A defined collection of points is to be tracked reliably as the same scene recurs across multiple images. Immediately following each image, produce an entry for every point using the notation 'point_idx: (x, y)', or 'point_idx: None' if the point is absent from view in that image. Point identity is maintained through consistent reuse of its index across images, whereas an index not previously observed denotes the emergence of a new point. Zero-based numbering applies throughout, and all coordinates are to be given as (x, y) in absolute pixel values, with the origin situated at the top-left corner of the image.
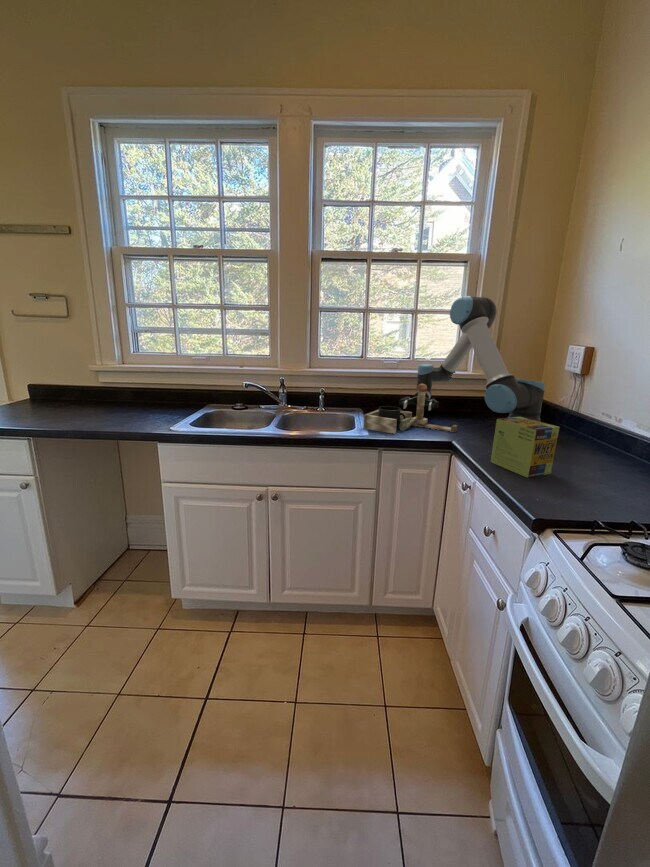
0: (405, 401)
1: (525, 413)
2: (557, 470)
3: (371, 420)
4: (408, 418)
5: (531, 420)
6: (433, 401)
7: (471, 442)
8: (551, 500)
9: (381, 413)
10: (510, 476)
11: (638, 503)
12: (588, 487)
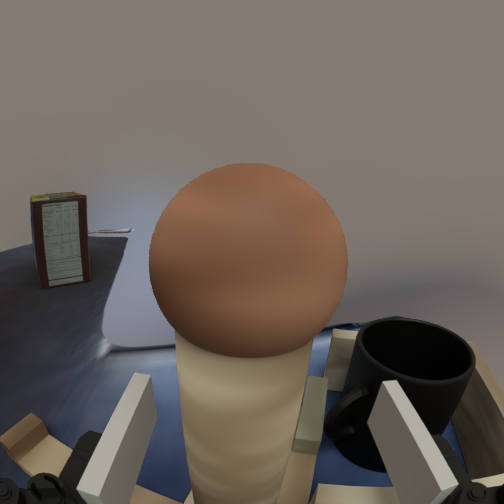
0: (415, 422)
1: None
2: (16, 271)
3: None
4: (305, 429)
5: (38, 197)
6: (52, 476)
7: (49, 347)
8: (94, 244)
9: (420, 339)
10: (96, 261)
11: (23, 246)
12: (31, 255)
